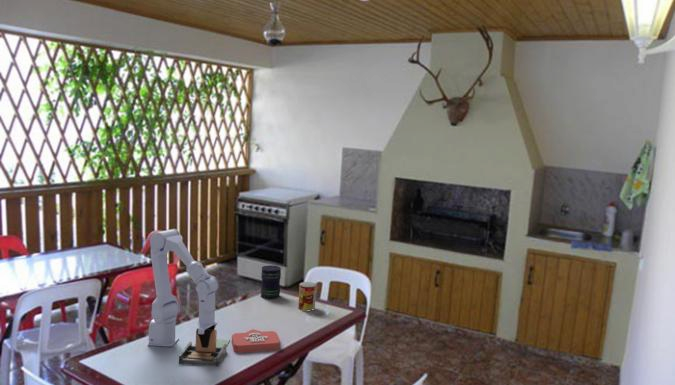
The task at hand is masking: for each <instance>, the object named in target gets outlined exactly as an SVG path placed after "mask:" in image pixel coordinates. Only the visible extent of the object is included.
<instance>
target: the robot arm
mask: <svg viewBox="0 0 675 385" xmlns="http://www.w3.org/2000/svg"><path fill="white" fill-rule="evenodd" d="M149 245H150V258H151V265H152V266H151V267H152V273H153V279H154V285H155V286H154V287H155V294H156V297H155V299H154V300H153V302H152V303H151V305H152V306H151V318H152V319H151V320H150V323H149V324H148V343H147V345H148V346H154V347H155V346H157V347H173V346H174V345H175V344H176V343H177V341H178V340H179V339H180V338H179V337H176V321H177V318H178V315H179V314H180V312H181V306H180V304H179V302H178V298H177V296H176V295H173V293H172V287H171V279H170V274H169V273H170V272H169V267H168V266H169V265H168V260H167V259H168V258H167V254H168V253H169V252H172V253H175V255H176V256H177V258H179V259H180V260H181V262H182V263H183V264H184V265H185V266H186V270H185V271H186V273H187V274H188V275H189V277H190V278H191V279H192V282H193V283H194V284H195V285H196V286H195V290H196V293H197V295H198V296H197V297H198V322H197V326H198V328H197V329H196V330H195V332H196V331H197V334H198V335H199V338H200V341H201V346H202V347H203V348H207V347H208V345H209V339H210V335H211V333H212V331H213V330H216V329H215V328H216V326H217V325H218V323H219V321H217V320H216V318H215V314H216V292H217V291H218V290H219V286H220V285H219V284H220V283H219V280H218V279H217V277H215V276H214V275H212V274H209V272H208V271H207V270H206V269H205V268H204V265H203V264H202V262H200V261H197V260H194V258H193V256H192V254H191V253H190V251H189V250H188V248H187V247H186V244H185V243H184V242H183V236H182V235H181V233H180V231H179V230H177V229H176V228H171V229H168V230H167V229H166V230H163V231H156V232H154V233H152V235H151V236H150V238H149ZM208 329H211V330H208Z"/></svg>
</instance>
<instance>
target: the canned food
mask: <svg viewBox="0 0 675 385" xmlns="http://www.w3.org/2000/svg"><path fill="white" fill-rule="evenodd" d="M316 286H317V284H316V283H315V282H310V281H303V282H300V283H299V292H298V310H299V309H300V311H301V310H304V311H303V312H308V311H307V310H312V309H314V308H316V291H317V289H316V288H317V287H316ZM314 310H315V309H314Z"/></svg>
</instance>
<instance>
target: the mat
mask: <svg viewBox="0 0 675 385" xmlns="http://www.w3.org/2000/svg"><path fill="white" fill-rule="evenodd" d="M230 342H231V340H229V339H217V338H216V347H223V345H224V344H226V348H228V345H229V343H230ZM194 346H196V343H195V344H194Z"/></svg>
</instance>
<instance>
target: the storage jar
mask: <svg viewBox="0 0 675 385" xmlns="http://www.w3.org/2000/svg"><path fill="white" fill-rule="evenodd" d="M281 269H282V268H281V266H278V265H274V264H273V265H264V266H262V267H261V273H260V274H261V276H260V277H261V286H260V298H262V299H264V300H277V299H279V298H280V294H281V278H282V273H281V272H282V270H281Z"/></svg>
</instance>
